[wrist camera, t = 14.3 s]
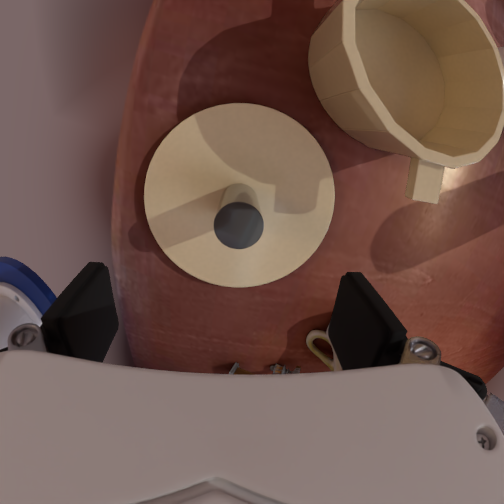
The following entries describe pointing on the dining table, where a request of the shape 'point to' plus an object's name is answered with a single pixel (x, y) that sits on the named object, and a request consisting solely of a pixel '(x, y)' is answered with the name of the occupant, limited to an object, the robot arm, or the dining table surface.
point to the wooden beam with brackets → (276, 369)
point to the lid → (239, 195)
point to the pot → (411, 83)
